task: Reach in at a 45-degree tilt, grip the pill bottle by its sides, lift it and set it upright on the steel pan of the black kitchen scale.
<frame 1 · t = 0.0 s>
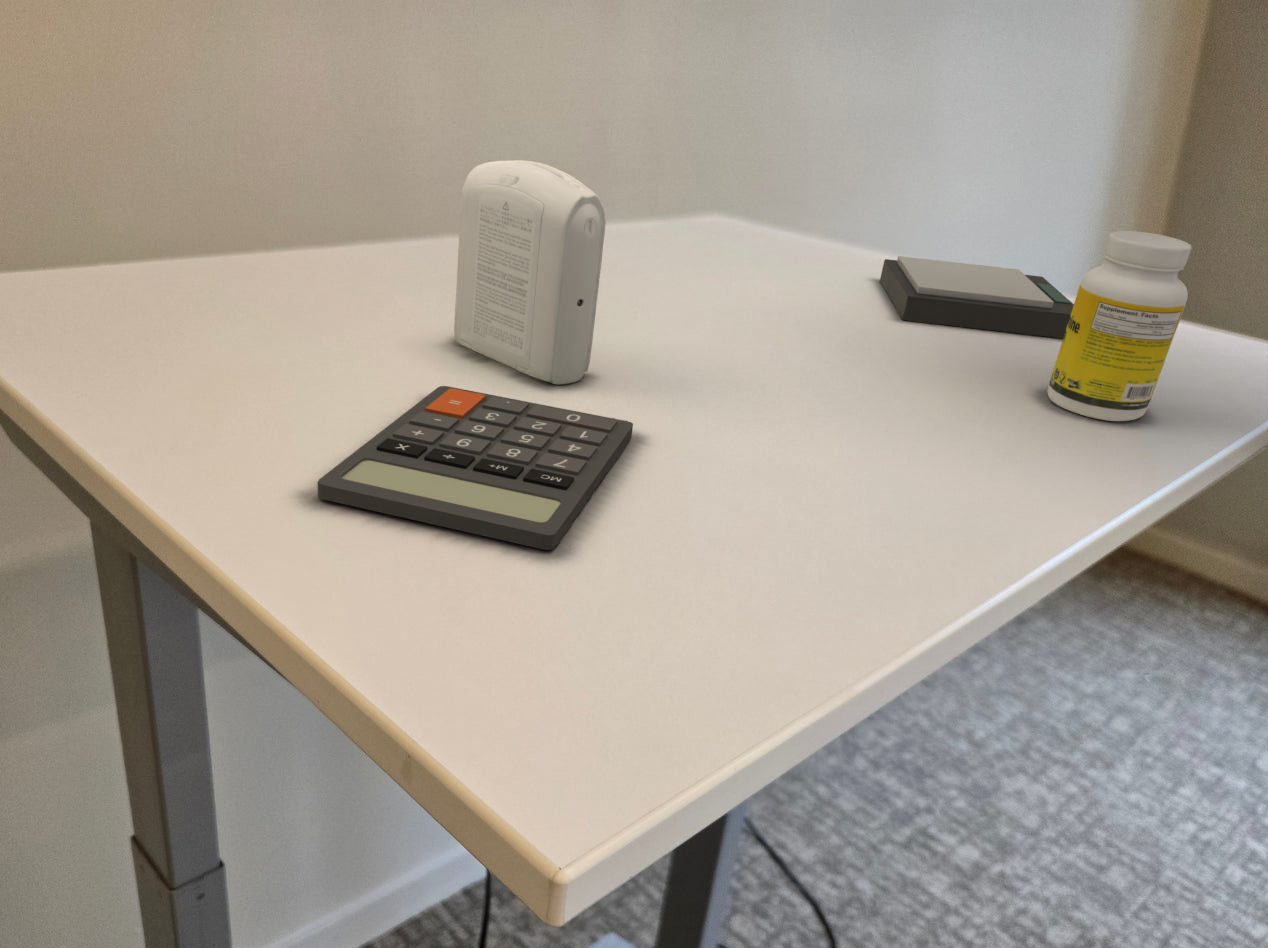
photo printer: (519, 363, 70), on the table
calculator: (488, 466, 55), on the table
pill bottle: (1092, 409, 72), on the table
scale: (972, 308, 92), on the table
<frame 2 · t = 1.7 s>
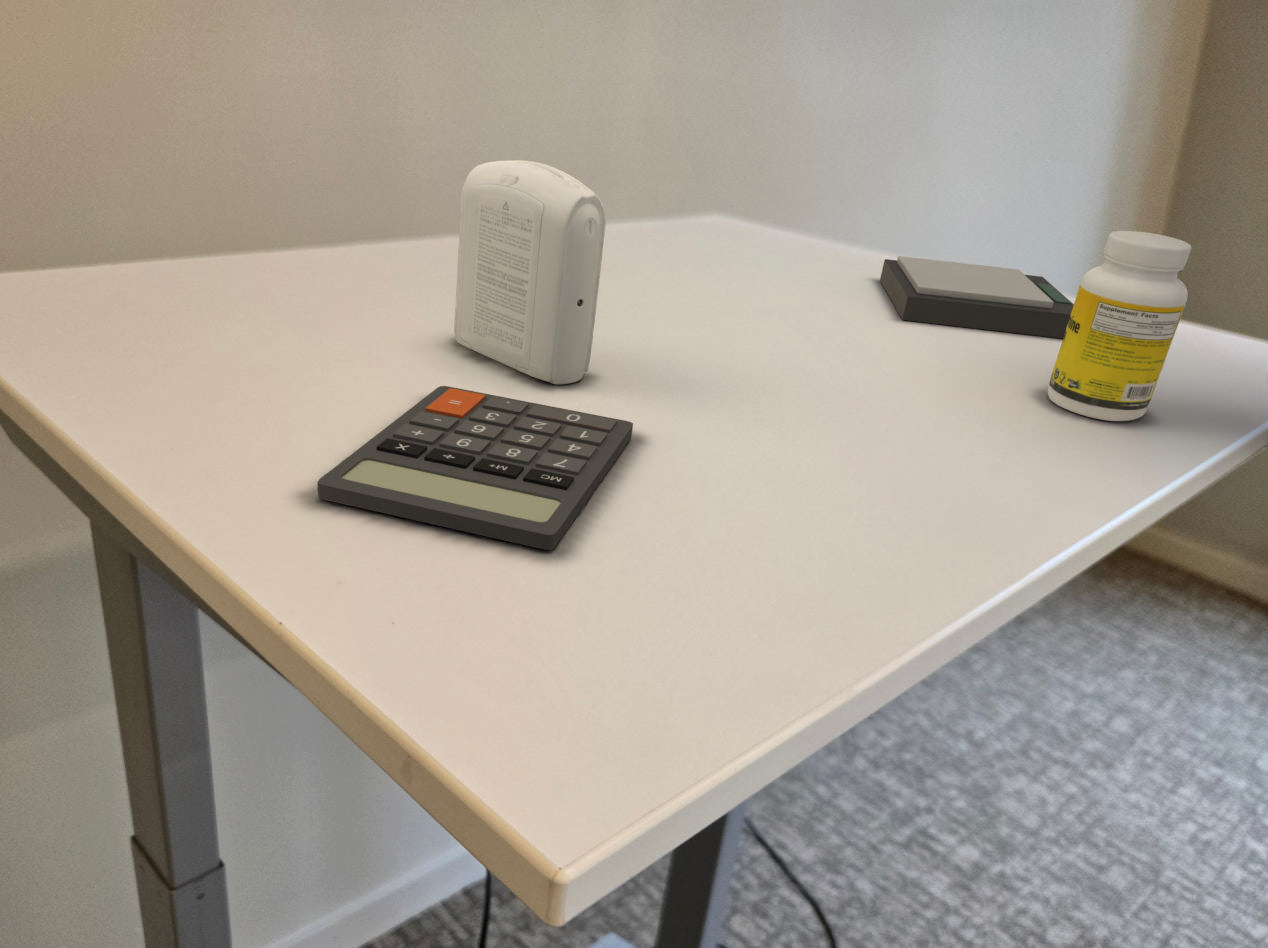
nothing on the table moved.
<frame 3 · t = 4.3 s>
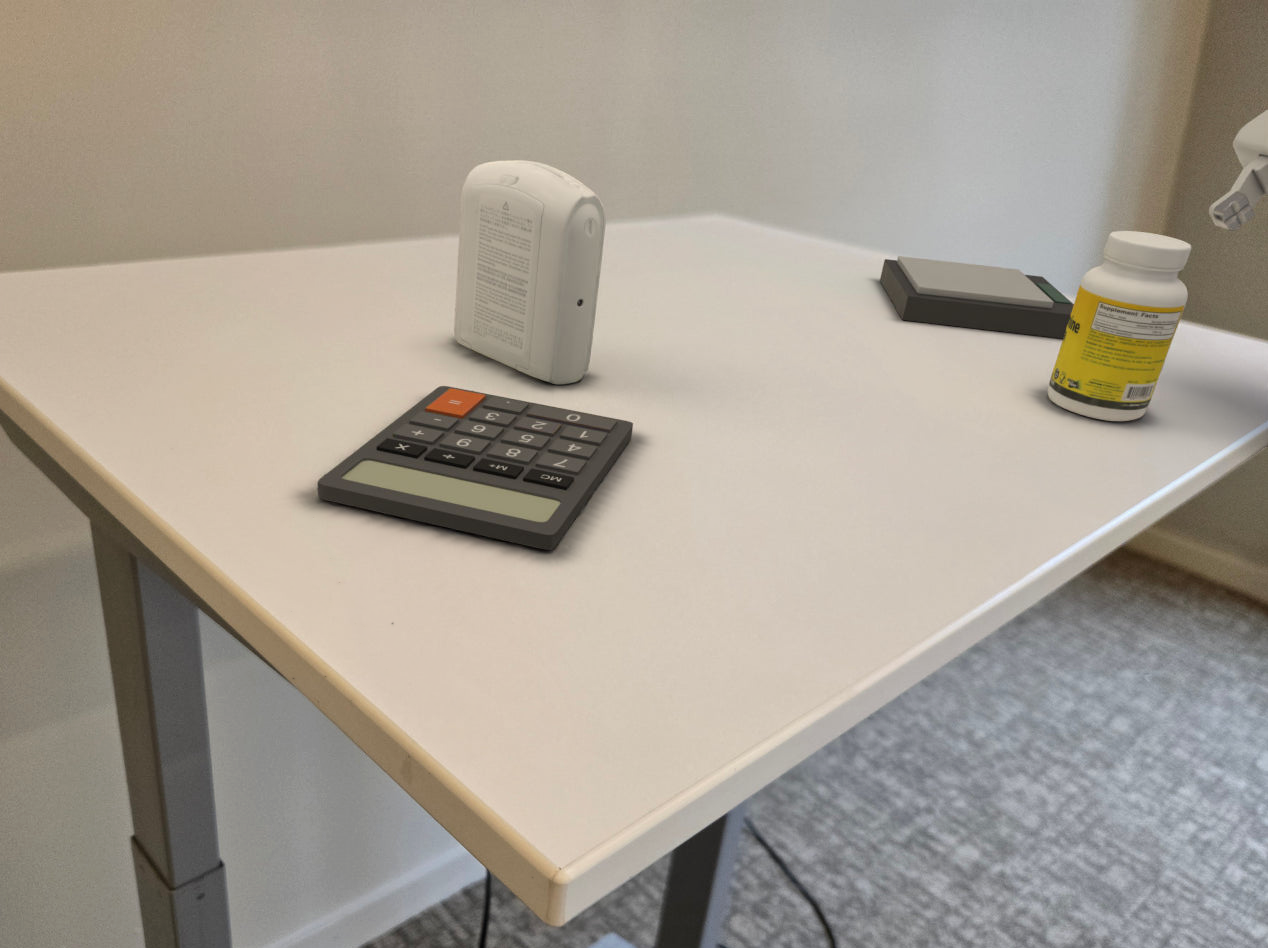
hand: (1265, 237, 66), 12 cm above the table, tool tilted 45°, fingers open, 8 cm apart
nothing on the table moved.
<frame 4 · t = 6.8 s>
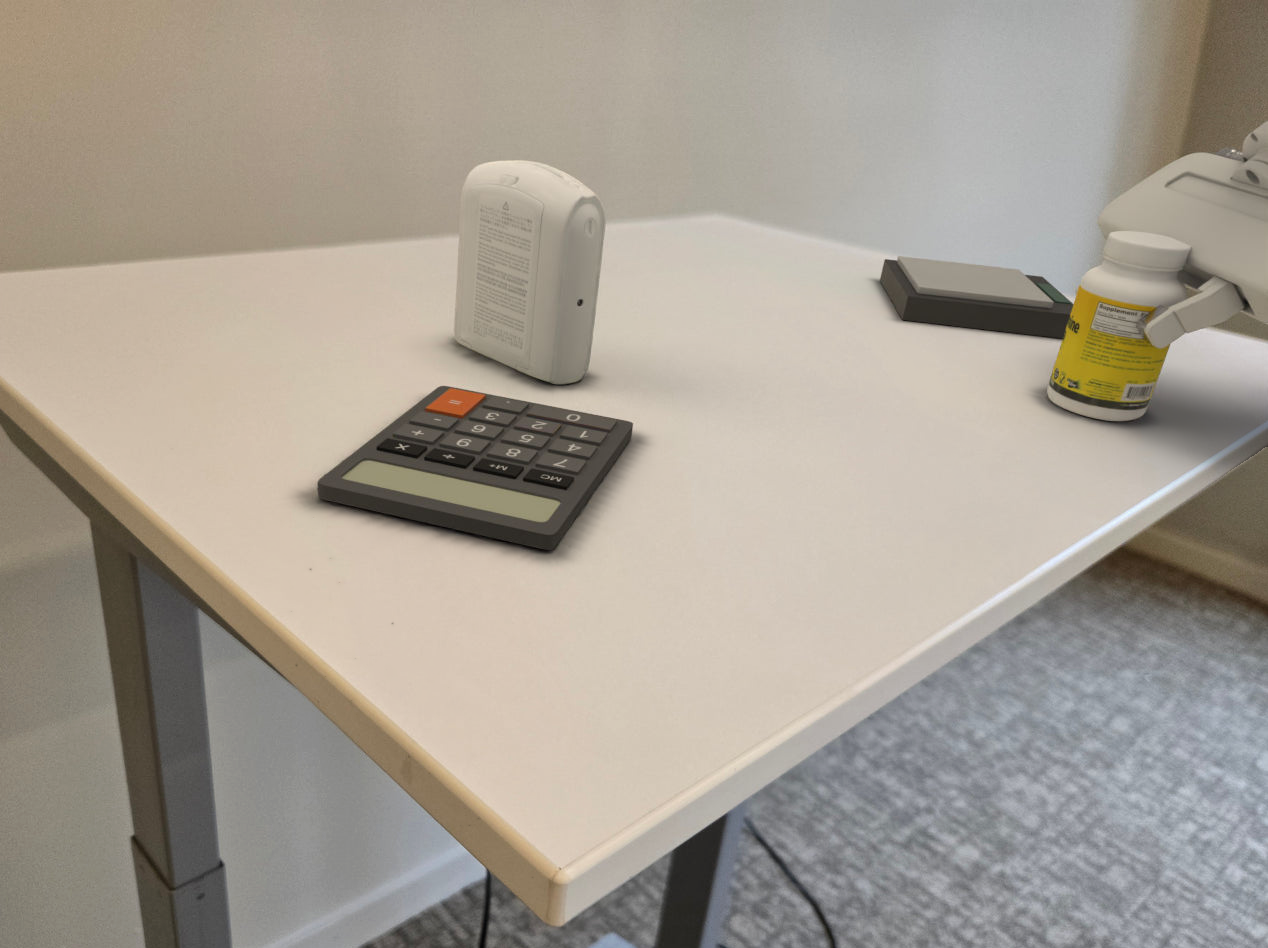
hand: (1113, 319, 69), 6 cm above the table, tool tilted 45°, fingers closed on pill bottle, 6 cm apart
pill bottle: (1092, 409, 72), on the table, touching gripper
everything else where it was.
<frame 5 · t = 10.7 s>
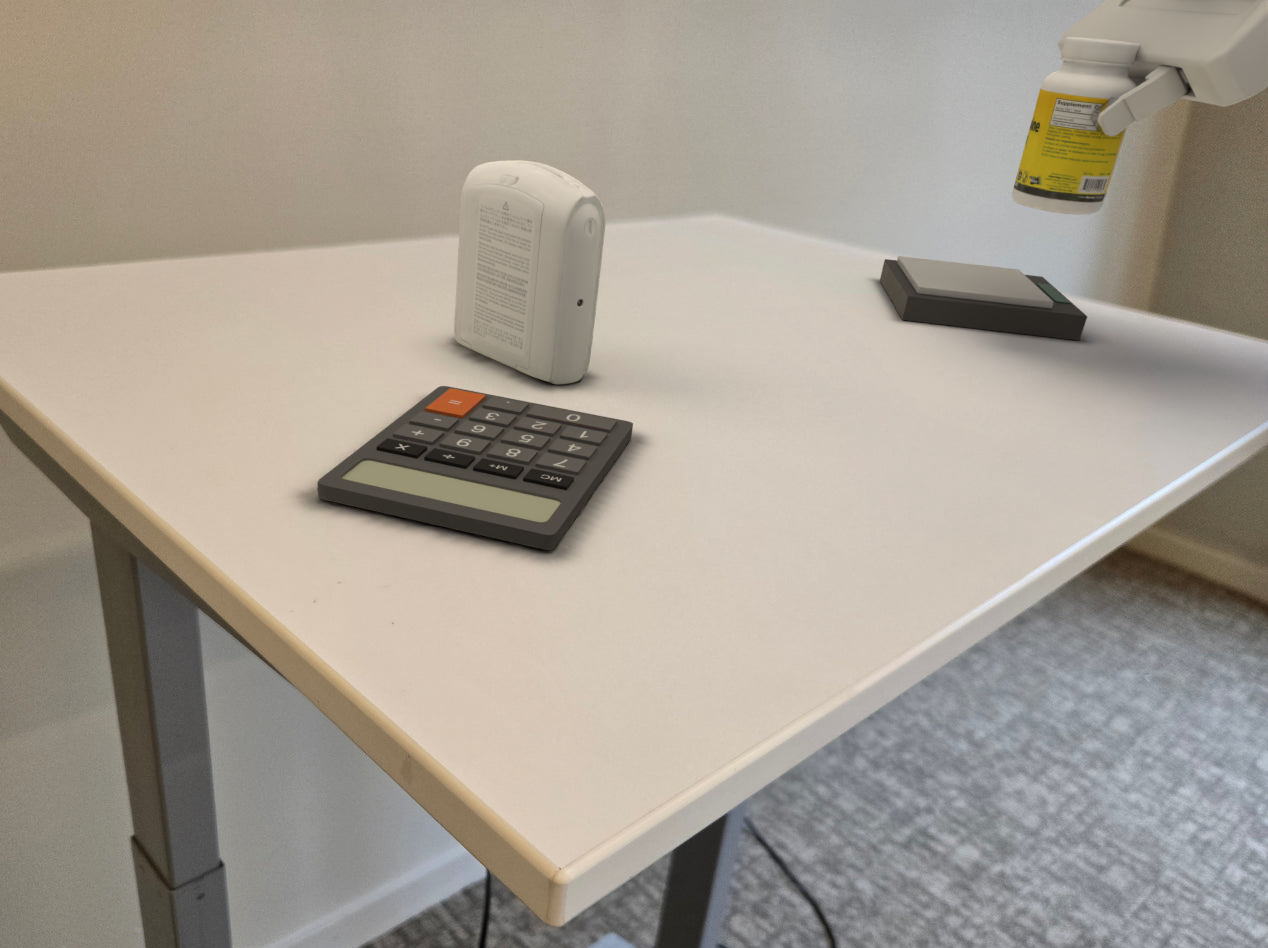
hand: (1071, 120, 75), 16 cm above the table, tool tilted 45°, fingers closed on pill bottle, 6 cm apart
pill bottle: (1053, 209, 78), point 10 cm above the table, touching gripper
everything else where it was.
when the fingers open (8 cm above the table, at t = 14.8 s): pill bottle stays where it is, resting on scale.
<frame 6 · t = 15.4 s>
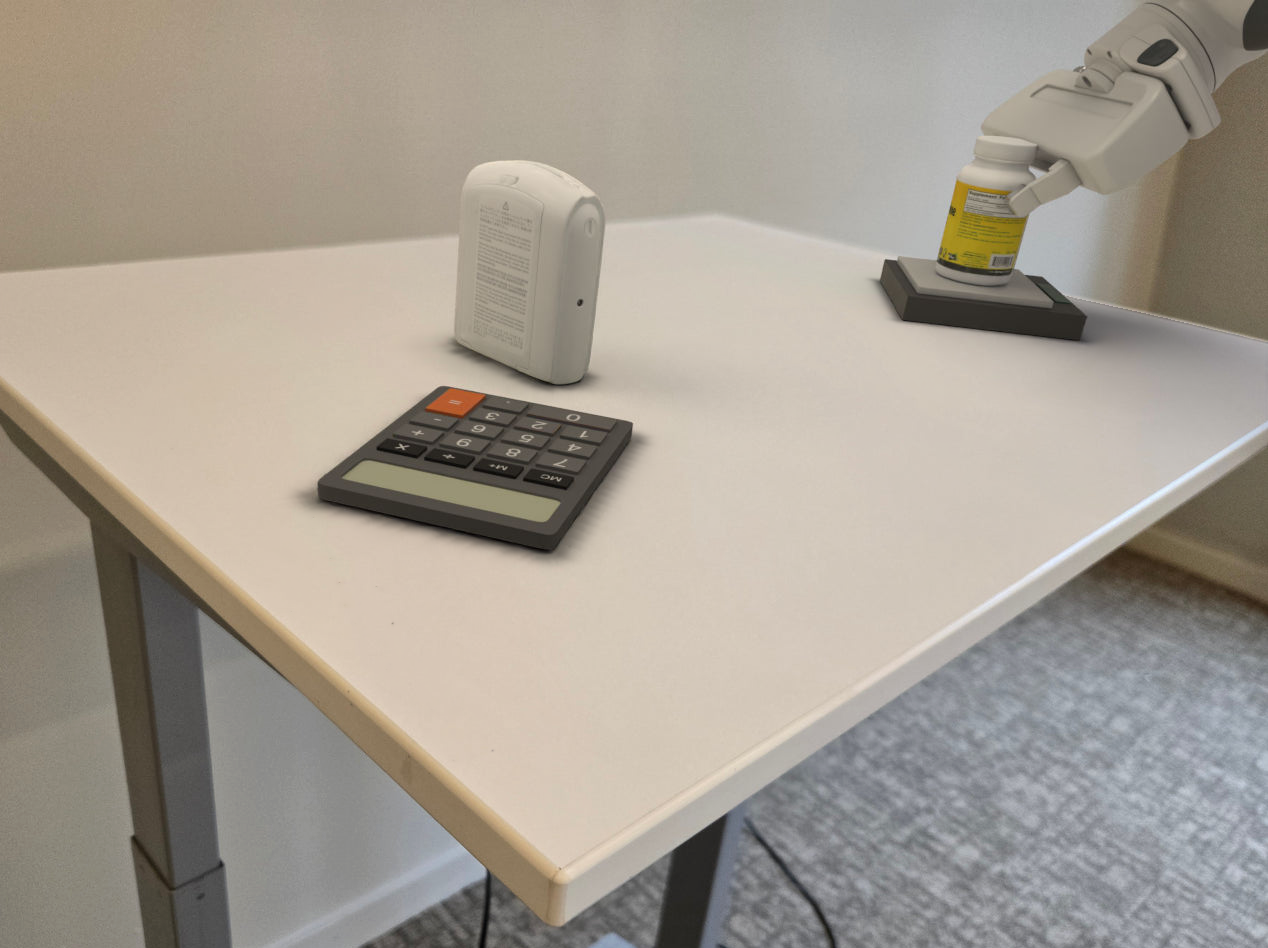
hand: (985, 197, 88), 9 cm above the table, tool tilted 45°, fingers open, 8 cm apart
pill bottle: (970, 279, 91), point 2 cm above the table, touching scale
everything else where it was.
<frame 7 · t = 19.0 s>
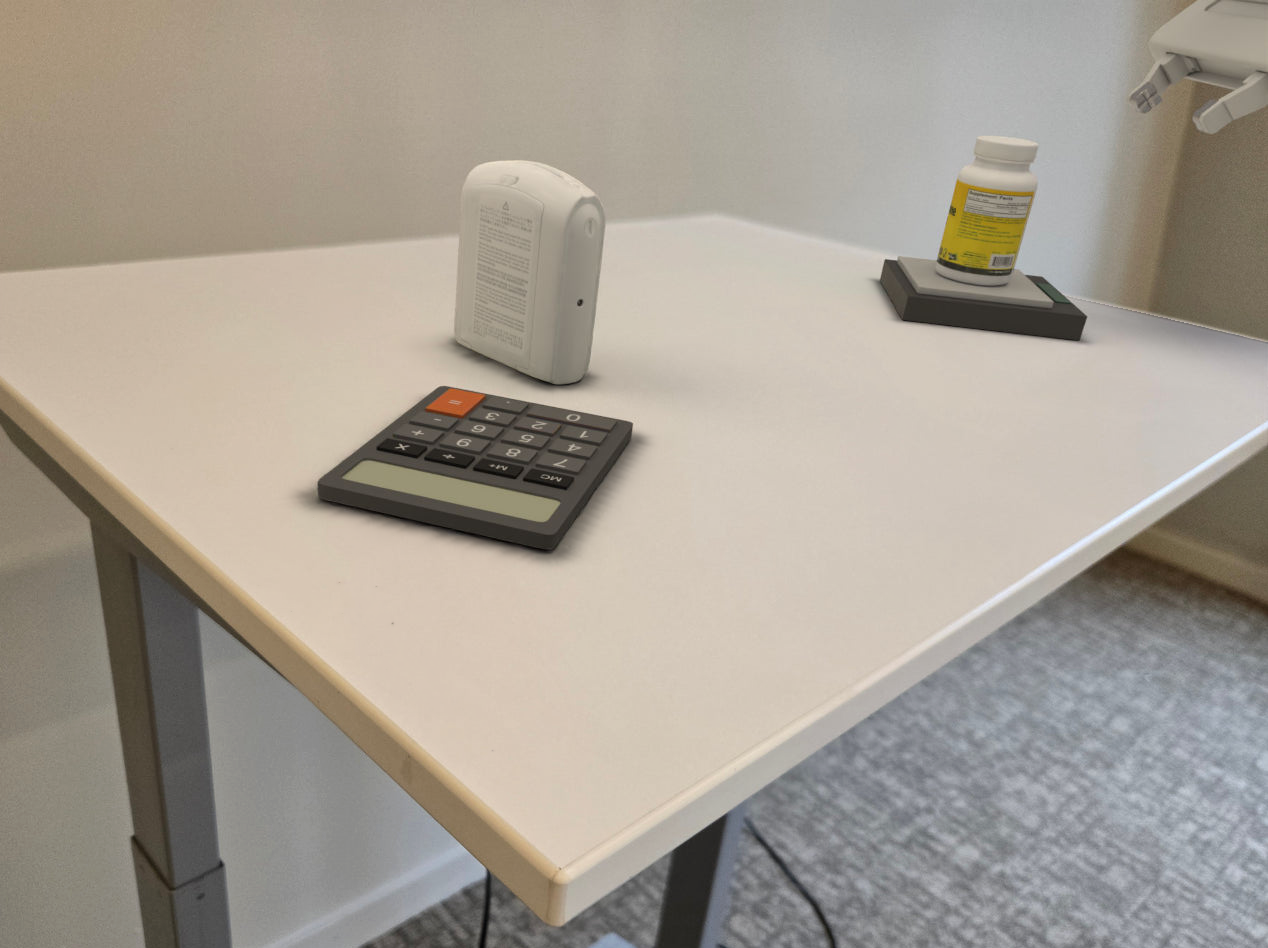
hand: (1165, 115, 86), 16 cm above the table, tool tilted 45°, fingers open, 8 cm apart
nothing on the table moved.
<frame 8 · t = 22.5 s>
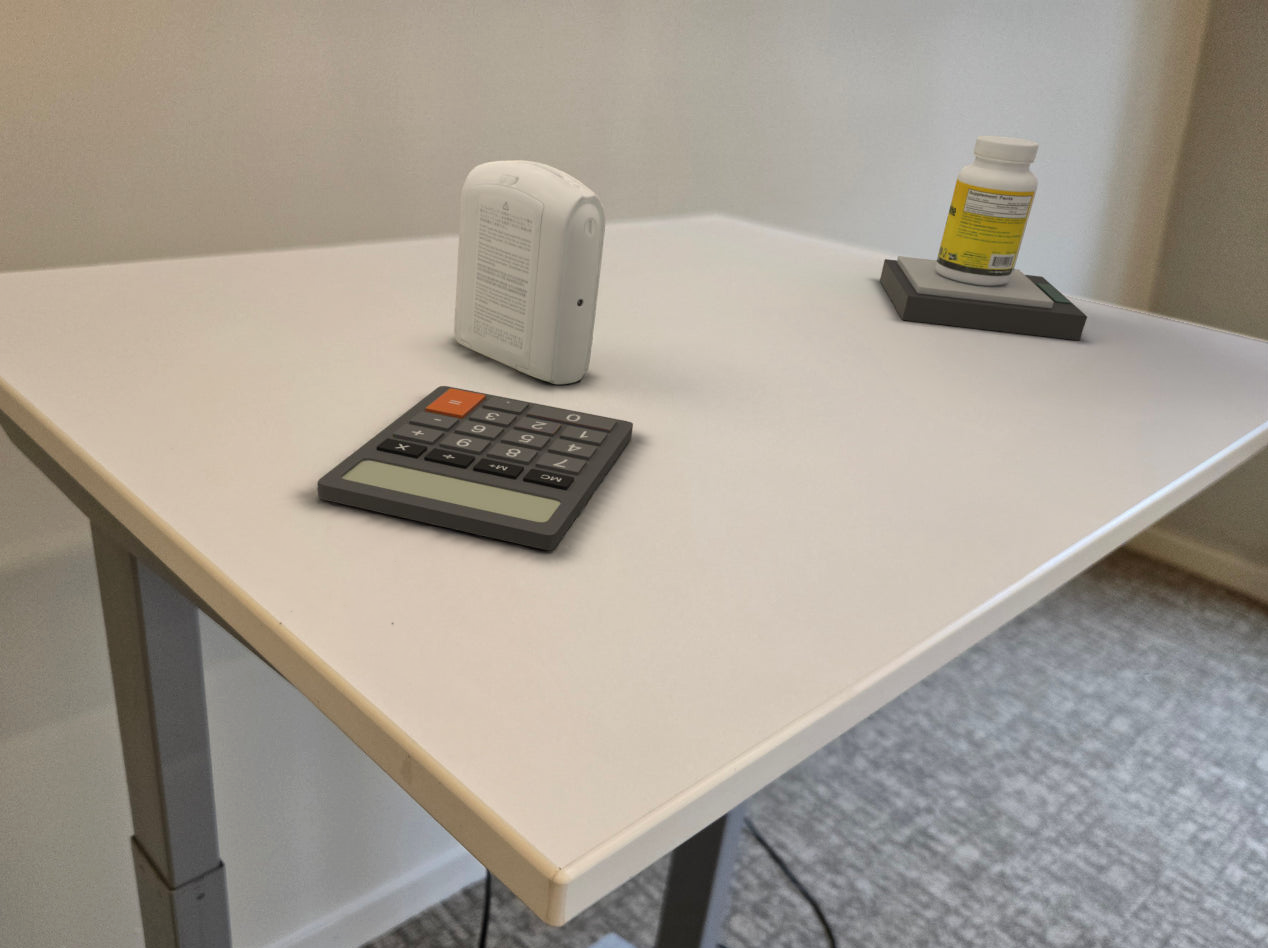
nothing on the table moved.
at the end: pill bottle inside the target area on the scale (0.2 cm from its centre), point 2.4 cm above the scale's base; pill bottle tilted 0°; the gripper is holding nothing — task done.
